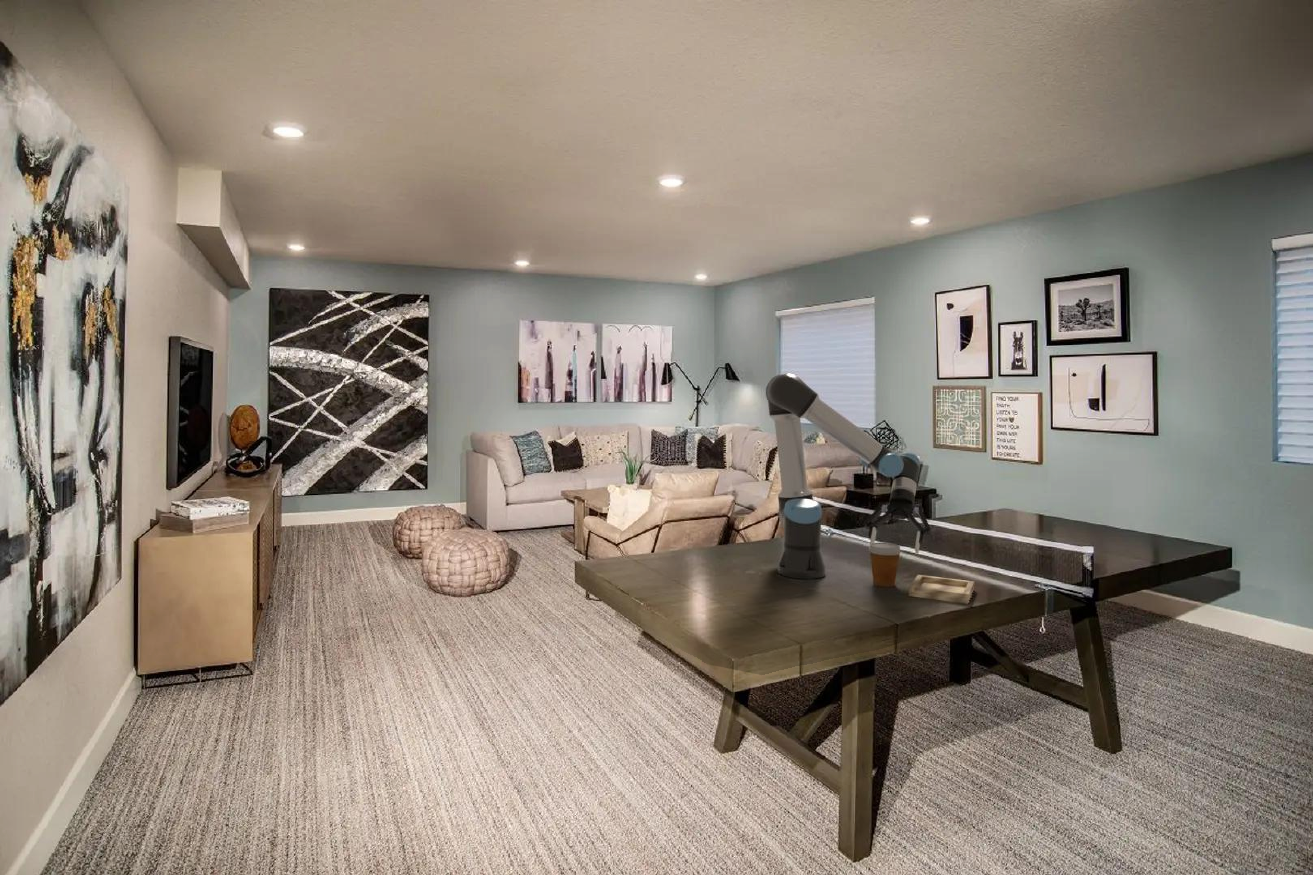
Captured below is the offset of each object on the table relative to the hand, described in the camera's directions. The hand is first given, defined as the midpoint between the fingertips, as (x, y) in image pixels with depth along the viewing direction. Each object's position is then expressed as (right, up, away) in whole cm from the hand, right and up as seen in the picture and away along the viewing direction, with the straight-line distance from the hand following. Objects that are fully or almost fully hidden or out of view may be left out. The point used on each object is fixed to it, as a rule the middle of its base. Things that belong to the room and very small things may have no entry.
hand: (893, 548), depth 231 cm
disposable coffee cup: (-4, -10, -4) cm, 12 cm away
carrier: (+10, -11, -13) cm, 20 cm away
